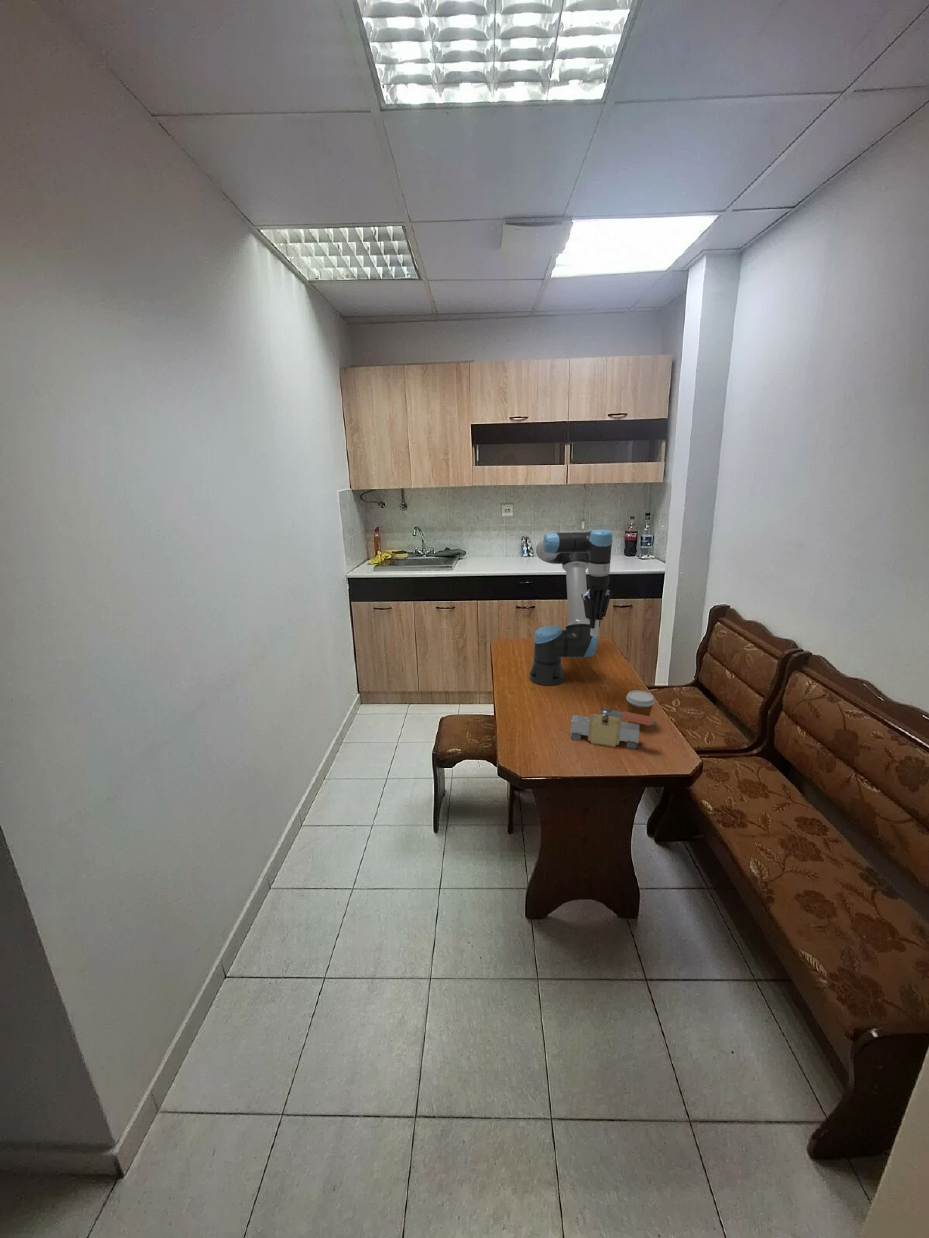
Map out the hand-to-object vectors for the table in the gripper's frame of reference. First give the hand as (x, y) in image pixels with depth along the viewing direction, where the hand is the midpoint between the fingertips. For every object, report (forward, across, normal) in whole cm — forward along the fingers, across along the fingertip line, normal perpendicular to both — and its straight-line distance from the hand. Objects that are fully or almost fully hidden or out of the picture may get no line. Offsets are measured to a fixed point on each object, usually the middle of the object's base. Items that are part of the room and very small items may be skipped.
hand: (594, 635), depth 181 cm
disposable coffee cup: (+29, +5, -20) cm, 36 cm away
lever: (+19, -8, -27) cm, 34 cm away
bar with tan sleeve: (+29, -12, -22) cm, 38 cm away
